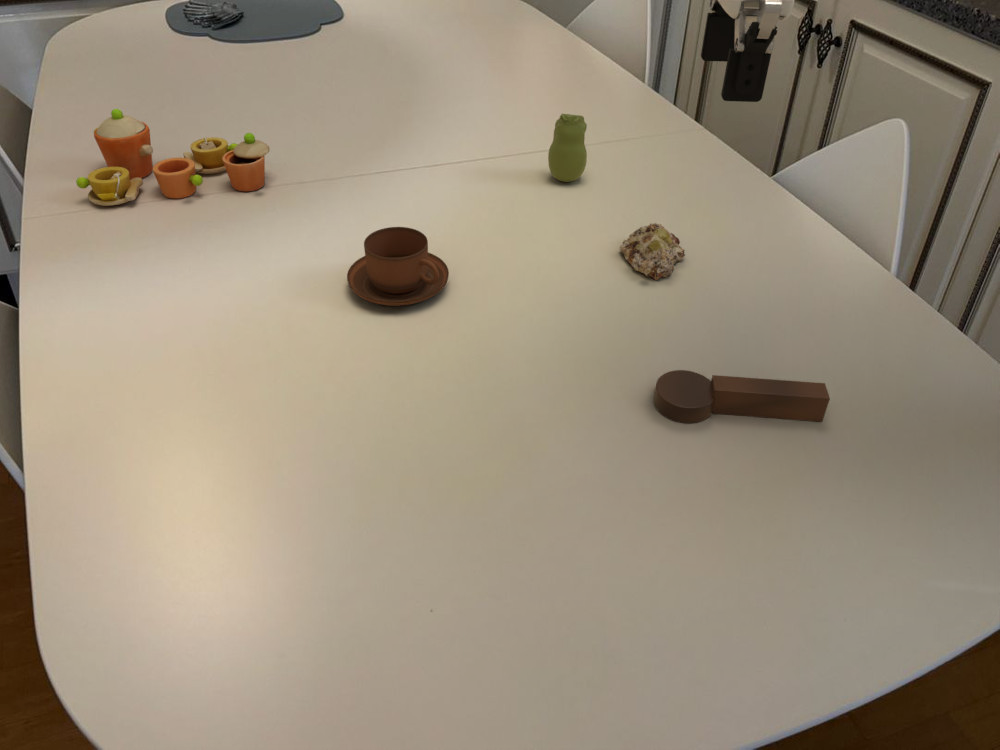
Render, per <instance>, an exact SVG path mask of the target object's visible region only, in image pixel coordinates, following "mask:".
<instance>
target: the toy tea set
mask: <svg viewBox="0 0 1000 750" xmlns="http://www.w3.org/2000/svg"><path fill="white" fill-rule="evenodd" d="M110 115H111V116H109V117H108V118H106V119H104V121H102V122H101V123H100V124H99V126H98V127H96V128H95V129H94V130H93V138H94V140H95V143H96V144H97V146H98V148H99V151H100V153H101V154H102V157H103V159H104V160H105V163H106V165H107V166H105V167H101V168H98V169H94V170H92V171H91V172H90V173H88V174H87V177H85V176H79V177H78V178H77V179H76V182H75V184H76V186H77V188H80V189H87V188H88V187H89V186H90V188H91V189H90V190H89V192H88V193H87V197H88V200H89V201H90V203H92V204H94V205H98V206H107V207H108V206H118V205H122V204H125V203H129V202H131V201H134V200H136V198H137V196H138V195H139V193H140V188H141V187H143V185H144V181H143V178H145V177H148V176H149V175H151V173H152V172H153V175H154V177H155V180H156V181H157V184H158V186H159V189H160V191H161V193H162V195H163V196H164V197H166V198H169V199H183V198H184V199H185V198H187V197H190V196H192V195H194V193H195V192H196V190H197V187H200V186H201V185H203V182H204V178H203V177H202V176H201V175H199V174H206V175H207V174H209V175H210V174H218V173H222V172H225V171H226V173H227V177H228V179H229V182H230V185H231V186H232V188H233V189H234V190H236V191H238V192H254V191H257V190H259V189H261V188H262V187H263V186H264V185H265V182H266V179H265V177H266V176H265V174H266V172H265V170H266V169H265V168H266V165H265V164H266V163H265V162H266V161H265V160H266V159H265V158H266V155H268V153H269V152H270V150H271V149H270V146H269V144H267V143H266V142H264V141H261V140H258V139H256V137H255V135H254V134H253V133H251V132H246V133H245V134H244V136H243V141H241V142H240V143H235V142H234V143H230V144H229V143H228V141H227V139H224V138H222V137H212V136H211V137H206V136H203V137H202V138H200V139H197V140H195V141H193V142H192V143H191V144H190V146H189V148H190V150H191V151H184V152H183V157H171V158H170V157H169V158H166V159H163V160H160V161H157V162H156V163H155V164H154V165H153V155H152V154H153V153H154V148H153V146H152V144H151V132H150V131H151V130H150V127H149V125H148V124H147V123H145V122H144V121H141V120H140V119H138V118H136V117H133V116H130V115H126V114H123V111H122V110H121V109H119V108H114V109H112V110H111V113H110ZM196 173H197V174H196Z"/></svg>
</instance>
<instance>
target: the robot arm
mask: <svg viewBox="0 0 1000 750" xmlns="http://www.w3.org/2000/svg"><path fill="white" fill-rule="evenodd" d="M794 5H795V0H709V6H708V7H709V10H708V11H709V12H707V16H706V21H705V28H704V32H703V33H704V34H703V39H702V45H701V51H700V57H701V60H702V61H704V62H726V66H725V72H724V77H723V82H722V88H721V93H720V95H721V99H722V100H723V101H724V102H741V103H743V102H744V103H746V102H747V103H757V102H760V101H761V100H762V99H763V96H764V95H763V94H764V90H765V85H766V81H767V76H768V71H769V67H770V62H771V58H772V53H773V51H774V46H775V36H777V34H778V26H777V24H778V22H779V21H786V20H787V19H788V18H789V17H790V16H792V14H793V10H794ZM746 23H750V25H749V26H748V28H747V30H746V26H747V25H746Z"/></svg>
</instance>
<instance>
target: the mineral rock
mask: <svg viewBox="0 0 1000 750" xmlns="http://www.w3.org/2000/svg"><path fill="white" fill-rule="evenodd" d="M680 243H681V241H680V239H679V237H677V236H676V235H675V234H674V233H672V232H671V231H669V230H668V229H667V228H665V226H663V225H662V224H661V223H657V222H654V223H651V222H650V223H649V224H648V225H644V226H640V227H639V228H637V229H635V230H634V231H633V232H632V233H630V234H629V235H628V238H627V239H624V240H622V244H621V245H620V246H619V250H620V251H621V252H622V254H623V256H624V258H625V260H626V261H627V263H629V264H630V265H631V267H632V268H633V270H634V271H636V272H639V273H641V274H644V275H645V276H646V278H647V277H648V278H649V277H651V278H652V279H653V280H655V281H658V280H660V279H661V278H666V277H669V276H670V275H671V274H672V272H673V271H674V265H675V264H676V263H677V262H681V261H682V260H683V258H684V257H685V256H686V254H685V251H686V249H684V248H683V247H681V246H680Z"/></svg>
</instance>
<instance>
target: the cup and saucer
mask: <svg viewBox="0 0 1000 750" xmlns="http://www.w3.org/2000/svg"><path fill="white" fill-rule="evenodd" d="M363 249H364V250H363V251H364V256H361V257H360V258H358V259H357V260H356V261H354V262H353V264H351V265H350V266H349V268H348V270H347V273H346V280H347V284H348V286H349V288H350V289H351V291H352V292H353V293H354V294H356V295H357V296H359V297H360V298H362V299H363V300H366V301H367V302H370V303H372V304H377V305H379V306H381V305H382V306H387V307H388V306H389V307H402V306H410V305H415V304H418V303H422V302H425V301H426V300H428V299H429V300H430V299H431V298H433V297H434V296H435V295H437V294H438V293H439V292H440V291H442V290H443V289H444V287H445V286H446V285H447V283H448V280H449V275H450V274H449V273H450V272H449V268H448V265H447V264H446V263H445V261H444V260H443V259H442V258H440V257H439V256H437V255H436V254H433V253H431V252H429V241H428V238H427V236H426V235H425V234H424V233H423V232H421V231H420V230H418V229H415V228H411V227H407V226H406V227H405V226H390V227H384V228H380V229H378V230H374V231H372V232H371V233H370V234H368V235H367V237H366V238H365V239H364V241H363Z"/></svg>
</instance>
